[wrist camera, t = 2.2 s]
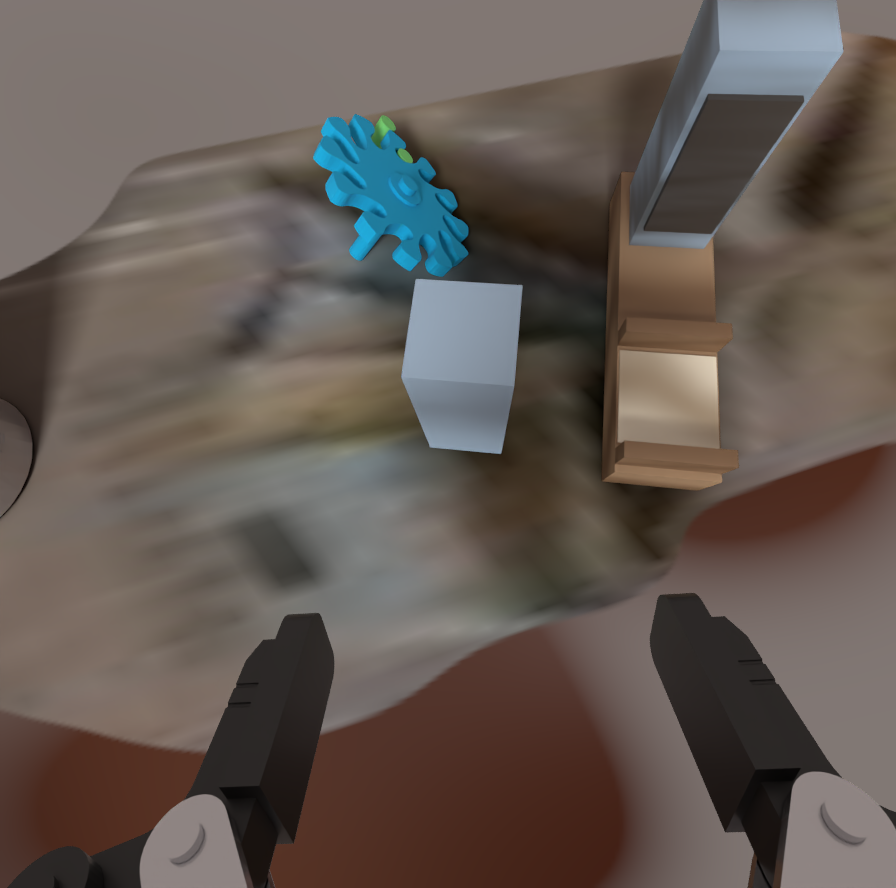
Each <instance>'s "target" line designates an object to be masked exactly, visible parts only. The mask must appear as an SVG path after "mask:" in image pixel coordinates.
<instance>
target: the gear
mask: <svg viewBox="0 0 896 888" xmlns="http://www.w3.org/2000/svg"><path fill="white" fill-rule="evenodd" d="M395 130H396V127H395V125H394V123H393V122H392V121H391V120H390V119H389V118H388V117H386V116H381V118H380V119H379V121H378V122H377V124H376V126H375V127H374V126H373V124H372V123H371V122H370V121H368V120H367V119H365V118H363V117H361V116H359V115H357V114H355V115H354V116H353V118H352V120H351V122H350V123H349V125H347V124H346V122H345V121H344V120H343V119H342V118H339V117H330V118H328V119H327V121H326V122H325V124H324V126H323V128H322V130H321V133H322V135H323V138H322V140H321V142H320V143H319V145H318V147H317V149H316V151H315V153H314V156H313V159H314V160H315V161H316V162H317V163H318V164H319V165H320V166H322V167H323V168H325V169H328V170H330V171H332V172H333V173H332V174H331V176H330V178H329V179H328V181H327V183H326V191H327V194H328V197H329V199H330V201H331V202H332V203H334V204H335V205H338V206H354V207H357V208H359V209H361V210H363V211H365V212H363V213H362V215H361V216H360V218H359V219H358V221H357V222H356V223H355V225H354V227H355V229H356V231H357V232H358V233H359V236H358V238H357V239H356V240H355V242H354V243H353V244H352V246H351V247H350V249H349V251H350V254H351V255H352V256H353V257H354V258H355V259H357V260H360V261H361V260H363V259H364V257H365V256H366V255H367V254H368V252H369V251H370V250H371V248H372V247H373V246H374V245H375V243H376V242H377V241H378V239H379V238H380V237H381V236H382V235H384V234H393V235H396V236H397V237H399V238H400V239H401V240H402V242H401V243H400V245H399V246H398V247H397V248H396V249H395V251H394V252H393V254H392V257H393V259H394V260H395V261H396V262H397V263H398V264H399V265H401V266H402V267H403V268H405V269H407V270H408V271H411V270H412V269H413V268H414V267H415V266H416V265H417V264H418V263H419V262H420V260H421V258H422V257H421V253H420V249H419V245H421V246H422V247H424V248H425V250H426V251H427V253H428V258H427V260H426V261H425V267H426V269H427V271H428V272H429V273H431V274H432V275H435V276H440V277H443V276H444V275H445V274H446V273H447V272H448V271H449V270H450V269H451V268H452V267H454V266H457V265H458V264H459V263H460V262H461V261H462V260H463V259H464V258H465V257H466V256H467V255H468V251H467V250H466V248H465V247H464V246H463V245H462V244H461V242H462V241H463V240H464V239H465V238H466V237H467V236H468V226H467V225H466V224H465V223H464V222H463V221H462V220H460V219H457V218H456V217H454V216H453V215H451V214H452V212H453V211H454V210H455V209H456V208H457V207H458V206H457V202H456V199H455V197H454V195H453V193H452V192H451V191H449V190H447V189H438V188H435V187H434V186H432V185H430V184H429V182H430V181H431V180H432V178H433V177H434V176H435V175H436V173H435V171H434V169H433V168H432V166H431V165H430V164H429V162H428V161H427V160H426V159H425V158H423V157H421V158H420V159H419V160H418V161H417V163H414V164H413V163H412V162H413V159H412V157H411V156H410V154H409V153H408V152H407V151H406V150H404V149H405V148H406V144H405V142H404V141H403V140H402V139H401V138H400V137H399V136H398V135H396V134H395V133H394V131H395ZM351 137H352V138H353V140H354V141H355V143H356V144H355V143H354V142H353V141H352V139H351Z"/></svg>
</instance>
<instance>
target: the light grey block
mask: <svg viewBox="0 0 896 888" xmlns="http://www.w3.org/2000/svg"><path fill="white" fill-rule="evenodd" d="M522 286H523V285H510V284H493V283H476V282H459V281H442V280H426V279H416V281H415V288H414V295H413V301H412V308H411V315H410V321H409V328H408V335H407V342H406V348H405V355H404V362H403V368H402V375H401V378H402V380H403V383H404V385H405V387H406V390H407V392H408V395H409V397H410V399H411V402H412V404H413V407H414V409H415V412H416V414H417V416H418V419H419V421H420V424H421V426H422V428H423V431H424V433H425V436H426V438H427V440H428V443H429V445H430V447H433V448H443V449H454V450H465V451H475V452H486V453H497V454H501V452H502V447H503V442H504V437H505V431H506V426H507V421H508V416H509V411H510V406H511V400H512V395H513V390H514V383H515V371H516V359H517V347H518V335H519V323H520V311H521V298H522Z"/></svg>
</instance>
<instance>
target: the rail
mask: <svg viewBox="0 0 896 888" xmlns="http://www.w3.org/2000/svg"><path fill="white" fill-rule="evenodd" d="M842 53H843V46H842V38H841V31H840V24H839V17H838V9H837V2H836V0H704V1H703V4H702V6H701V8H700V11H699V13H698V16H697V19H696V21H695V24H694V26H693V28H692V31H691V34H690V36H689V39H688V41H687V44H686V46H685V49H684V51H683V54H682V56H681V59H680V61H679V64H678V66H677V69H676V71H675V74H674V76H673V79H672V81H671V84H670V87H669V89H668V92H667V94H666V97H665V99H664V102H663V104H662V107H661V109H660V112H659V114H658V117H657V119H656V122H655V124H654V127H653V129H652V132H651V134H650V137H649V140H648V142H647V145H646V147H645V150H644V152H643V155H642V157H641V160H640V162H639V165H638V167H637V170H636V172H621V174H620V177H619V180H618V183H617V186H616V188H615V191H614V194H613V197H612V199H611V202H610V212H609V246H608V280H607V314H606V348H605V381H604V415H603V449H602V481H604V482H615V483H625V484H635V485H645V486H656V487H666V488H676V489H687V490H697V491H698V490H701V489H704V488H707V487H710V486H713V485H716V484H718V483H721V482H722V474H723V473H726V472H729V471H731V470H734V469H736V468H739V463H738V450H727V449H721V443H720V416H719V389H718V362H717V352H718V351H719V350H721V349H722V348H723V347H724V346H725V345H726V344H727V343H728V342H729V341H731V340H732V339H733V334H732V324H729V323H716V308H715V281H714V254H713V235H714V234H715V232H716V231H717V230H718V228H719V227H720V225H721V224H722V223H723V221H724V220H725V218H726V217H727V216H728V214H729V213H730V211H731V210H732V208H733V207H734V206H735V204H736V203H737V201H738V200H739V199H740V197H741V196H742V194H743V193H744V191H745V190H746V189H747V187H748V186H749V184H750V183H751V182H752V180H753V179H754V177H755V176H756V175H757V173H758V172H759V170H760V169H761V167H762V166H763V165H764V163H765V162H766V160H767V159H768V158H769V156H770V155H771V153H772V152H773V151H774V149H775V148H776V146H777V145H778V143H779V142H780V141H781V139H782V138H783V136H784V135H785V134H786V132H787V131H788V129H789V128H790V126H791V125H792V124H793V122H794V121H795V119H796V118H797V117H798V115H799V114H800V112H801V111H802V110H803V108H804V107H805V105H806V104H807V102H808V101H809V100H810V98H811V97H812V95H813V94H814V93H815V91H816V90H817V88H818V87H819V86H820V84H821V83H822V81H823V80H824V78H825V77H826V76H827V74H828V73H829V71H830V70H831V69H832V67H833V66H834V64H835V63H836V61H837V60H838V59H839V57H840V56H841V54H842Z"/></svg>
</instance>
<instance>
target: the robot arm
mask: <svg viewBox="0 0 896 888" xmlns="http://www.w3.org/2000/svg"><path fill="white" fill-rule="evenodd" d="M32 445H33V443H32V438H31V433H30V429H29V426H28V424H27V422H26V420H25V418H24V416H23V415H22V414H21V413H20V412H19V411H18V410H17V408H16V407H14V406H13V405H11V404H10V403H8V402H7V401H5V400H2V399H0V517H1V516H2V515H3V514H4V513H5V512H6V511H7V510H8V508H9V507H10V506H11V505H12V503H13V502H14V500H15V499H16V497H17V496H18V494H19V493H20V491H21V489H22V487H23V485H24V483H25V480H26V478H27V476H28V473H29V469H30V465H31V461H32ZM650 647H651V653H652V657H653V661H654V664H655V666H656V669H657V671H658V674H659V676H660V678H661V680H662V683H663V685H664V688H665V690H666V693H667V695H668V697H669V700H670V702H671V704H672V707H673V709H674V712H675V714H676V716H677V719H678V721H679V724H680V726H681V728H682V731H683V733H684V735H685V738H686V740H687V742H688V745H689V747H690V750H691V752H692V754H693V757H694V759H695V762H696V764H697V766H698V769H699V771H700V773H701V776H702V778H703V780H704V783H705V785H706V788H707V790H708V792H709V795H710V797H711V799H712V802H713V804H714V807H715V809H716V811H717V814H718V816H719V819H720V821H721V823H722V826H723V828H724V831H725V832H746V835H747V837H748V839H749V841H750V843H751V846H752V848H753V850H754V854H753V857H752V863H751V870H750V875H749V881H748V887H747V888H896V812H894V811H891V810H888V809H886V808H884V807H882V806H880V805H878V804H877V803H876V802H875V801H874V800H873V799H872V798H871V797H870V796H868V795H867V794H866V793H865V792H864V791H862V790H861V789H860V788H858V787H857V786H855V785H853V784H852V783H850V782H849V781H847V780H845V779H843V778H842V777H841V776H840V775H839V774H838V773H837V771H836V770H835V769H834V768H833V767H832V765H831V764H830V763H829V761H828V760H827V759H826V757H825V755H824V754H823V752H822V751H821V749H820V748H819V746H818V745H817V743H816V741H815V740H814V738H813V737H812V735H811V734H810V732H809V731H808V730H807V728H806V726H805V724H804V723H803V721H802V720H801V718H800V717H799V715H798V714H797V712H796V711H795V709H794V707H793V706H792V704H791V703H790V701H789V700H788V699H787V697H786V695H785V694H784V692H783V691H782V689H781V687H780V686H779V684H776V682H775V678H774V677H773V675H772V674H771V672H770V671H769V669H768V668H767V666H766V664H763V662H762V658H761V657H760V655H759V654H758V652H757V650H756V649H755V647H754V646H753V644H752V643H751V641H750V640H749V638H748V637H747V636H746V635H745V634H744V633H743V632H742V631H741V630H740V629H738V628H737V627H736V626H735V625H734V624H733V623H732V622H730V621H729V620H728V619H727V618H726V617H725V616H723V617H711V615H710V614H709V612H708V610H707V609H706V607H705V605H704V604H703V602H702V600H701V599H700V598H699V596H698V595H696V594H695V593H686V594H668V595H660V596H659V597H658V600H657V605H656V610H655V615H654V620H653V625H652V630H651V635H650ZM333 674H334V655H333V650H332V647H331V644H330V641H329V638H328V635H327V632H326V630H325V627H324V624H323V621H322V618H321V616H320V614H319V613H309V614H291V615H287V616H285V618H284V619H283V621H282V623H281V626H280V628H279V631H278V634H277V636H276V639H271V640H263V641H262V642H261V643H260V644H259V646H258V647H257V648H256V649H255V650H254V652H253V653H252V654H251V655H250V656H249V658H248V659H247V660H246V662H245V664H244V667H243V669H242V671H241V674H240V676H239V678H238V681H237V683H236V688H234V690H233V692H232V695H231V697H230V699H229V702H228V707H227V708H226V709H225V711H224V714H223V716H222V718H221V721H220V723H219V725H218V728H217V730H216V732H215V735H214V737H213V739H212V742H211V744H210V746H209V749H208V751H207V753H206V756H205V758H204V760H203V763H202V765H201V768H200V770H199V772H198V774H197V777H196V779H195V782H194V784H193V786H192V788H191V790H190V791H189V793H188V794H187V796H186V798H185V799H184V800H183V801H182V802H181V803H179V804H178V805H176V806H175V807H174V808H172V809H171V810H170V811H169V812H168V813H167V814H166V815H165V816H164V817H163V818H162V819H161V820H160V822H159V823H158V824H157V826H156V827H155V828H154V829H152V830H151V831H149V832H147V833H145V834H143V835H141V836H139V837H136V838H134V839H131V840H129V841H127V842H124V843H122V844H119V845H117V846H114V847H112V848H110V849H107V850H105V851H102V852H100V853H97V854H95V855H93V856H88V855H87V854H86V853H85V852H84V851H82V850H81V849H80V848H77V847H73V846H72V847H71V846H67V847H62V848H58V849H56V850H53V851H51V852H49V853H47V854H45V855H43V856H42V857H40V858H39V859H37V860H36V861H34V862H33V863H32V864H31V865H29V866H28V867H27V868H26V869H25V870H24V871H22V872H21V873H20V874H19V875H18V876H17V877H16V879H15V880H14V881H13V882H12V883H11V884H10V885H9V886H8V888H275V886H274V883H273V880H272V877H271V873H270V871H269V869H270V865H271V861H272V857H273V853H274V850H275V846H276V844H292V843H294V840H295V836H296V832H297V827H298V823H299V819H300V815H301V811H302V807H303V802H304V798H305V794H306V790H307V786H308V781H309V777H310V773H311V769H312V764H313V760H314V756H315V752H316V748H317V743H318V739H319V735H320V731H321V727H322V722H323V718H324V714H325V710H326V705H327V701H328V697H329V693H330V689H331V684H332V680H333Z"/></svg>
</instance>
